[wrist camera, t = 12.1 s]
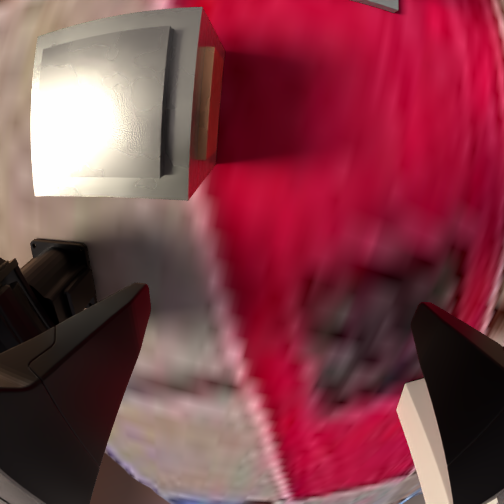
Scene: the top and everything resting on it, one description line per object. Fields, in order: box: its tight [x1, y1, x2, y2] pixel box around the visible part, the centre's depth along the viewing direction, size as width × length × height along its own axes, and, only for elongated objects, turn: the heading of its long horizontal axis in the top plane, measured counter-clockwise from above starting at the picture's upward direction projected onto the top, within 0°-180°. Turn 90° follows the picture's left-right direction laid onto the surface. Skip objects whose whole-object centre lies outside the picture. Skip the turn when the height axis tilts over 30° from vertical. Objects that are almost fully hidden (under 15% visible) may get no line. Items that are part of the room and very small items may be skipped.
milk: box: [396, 378, 498, 504], centre depth 21 cm, size 6×6×22 cm
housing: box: [31, 7, 225, 201], centre depth 14 cm, size 8×8×10 cm
